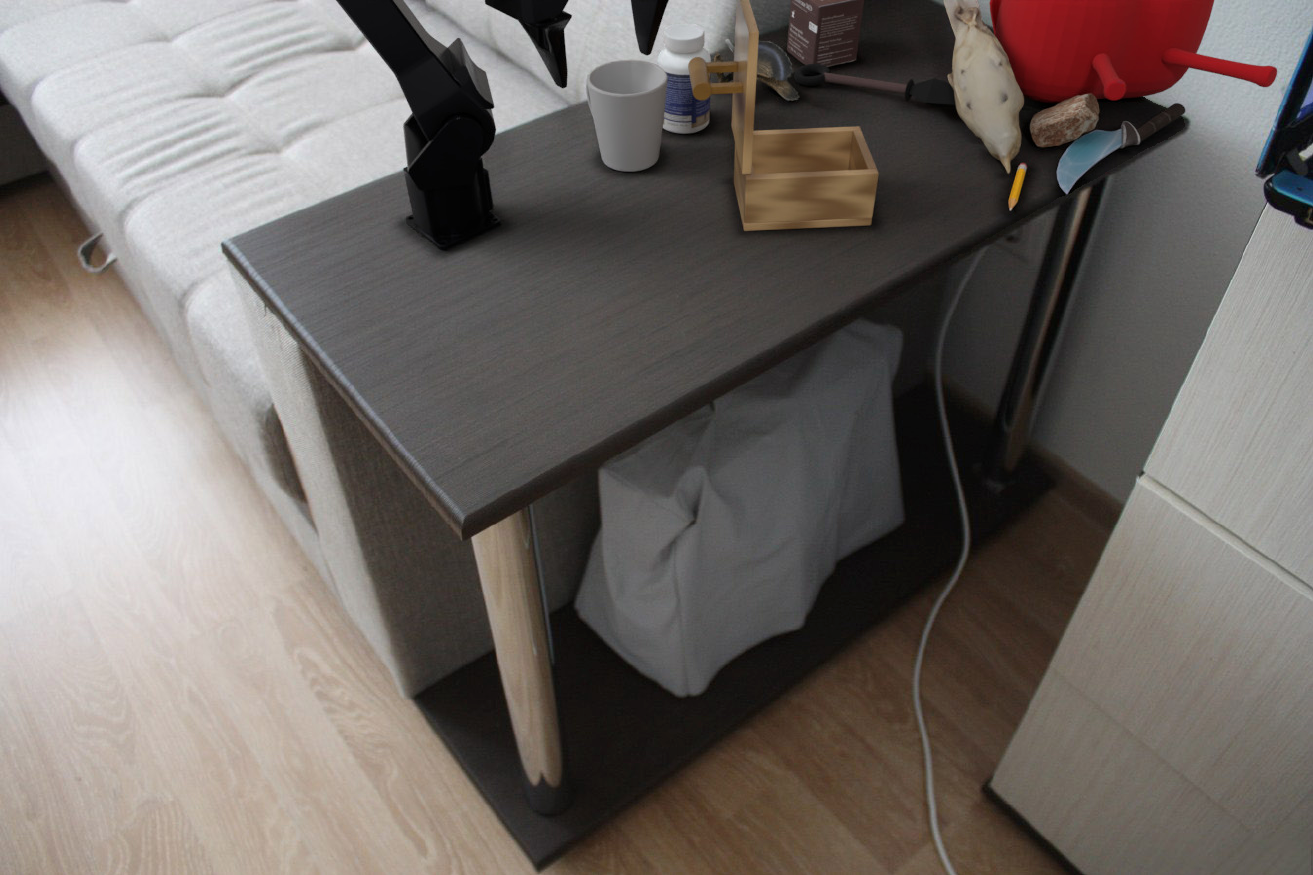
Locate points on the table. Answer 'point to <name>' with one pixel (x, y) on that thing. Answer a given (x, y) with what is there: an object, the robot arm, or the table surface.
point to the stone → (1065, 121)
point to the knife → (1107, 145)
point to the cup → (628, 112)
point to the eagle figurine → (767, 69)
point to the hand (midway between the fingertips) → (604, 69)
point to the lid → (735, 81)
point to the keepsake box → (807, 179)
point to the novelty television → (1108, 47)
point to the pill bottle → (683, 79)
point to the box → (824, 31)
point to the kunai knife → (886, 86)
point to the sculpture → (984, 82)
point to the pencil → (1017, 185)
